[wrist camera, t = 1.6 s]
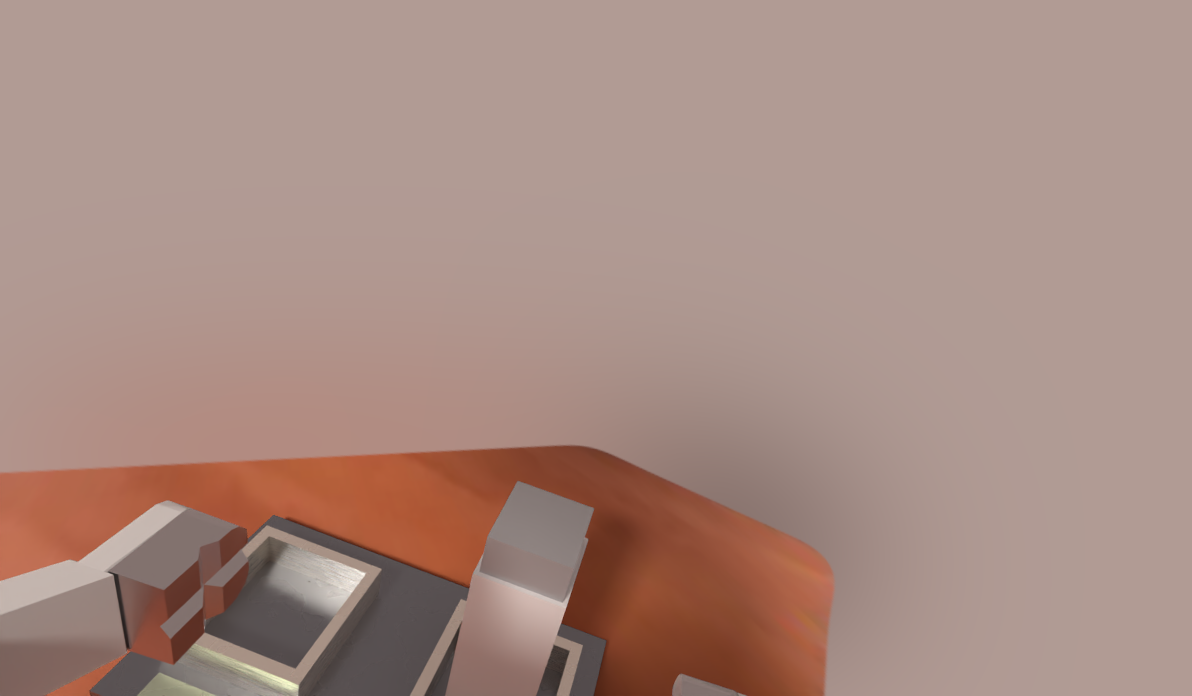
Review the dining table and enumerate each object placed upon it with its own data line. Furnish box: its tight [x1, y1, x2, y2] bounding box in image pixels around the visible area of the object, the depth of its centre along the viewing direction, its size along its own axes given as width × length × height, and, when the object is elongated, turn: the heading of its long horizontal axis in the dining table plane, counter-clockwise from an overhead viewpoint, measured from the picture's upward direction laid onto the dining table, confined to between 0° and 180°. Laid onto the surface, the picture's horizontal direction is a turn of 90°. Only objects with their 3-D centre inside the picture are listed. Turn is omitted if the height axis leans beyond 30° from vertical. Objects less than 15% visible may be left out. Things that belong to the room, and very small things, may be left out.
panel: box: [90, 515, 606, 696], centre depth 31 cm, size 22×12×3 cm, turn 78°
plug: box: [445, 481, 594, 696], centre depth 28 cm, size 4×5×13 cm
